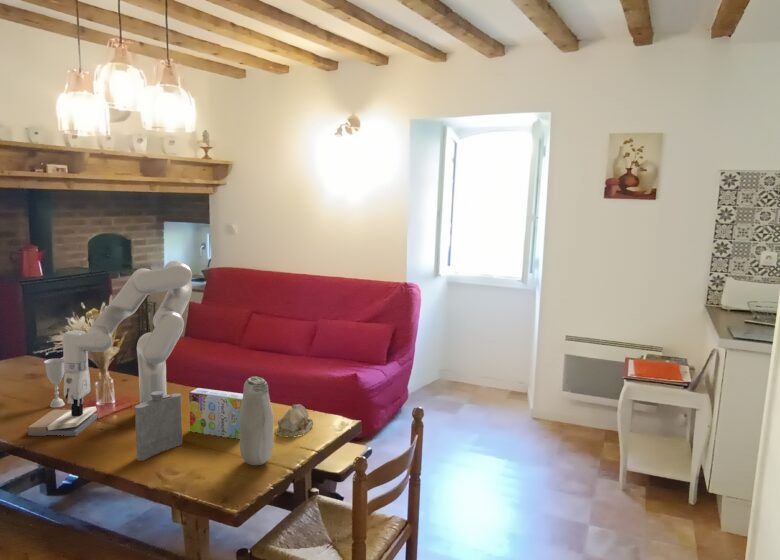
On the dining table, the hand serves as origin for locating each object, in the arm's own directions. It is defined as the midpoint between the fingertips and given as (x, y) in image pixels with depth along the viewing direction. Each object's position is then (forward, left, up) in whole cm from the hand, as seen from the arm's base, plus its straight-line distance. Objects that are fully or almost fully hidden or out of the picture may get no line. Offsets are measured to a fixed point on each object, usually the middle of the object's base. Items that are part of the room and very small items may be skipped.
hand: (77, 415), depth 198 cm
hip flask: (-35, +18, -5) cm, 40 cm away
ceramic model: (-77, +1, -5) cm, 77 cm away
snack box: (-51, +4, -5) cm, 52 cm away
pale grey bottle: (-68, +26, -5) cm, 73 cm away
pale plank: (+2, -1, -2) cm, 3 cm away
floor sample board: (+5, -1, -4) cm, 7 cm away
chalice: (+18, -21, -5) cm, 28 cm away
